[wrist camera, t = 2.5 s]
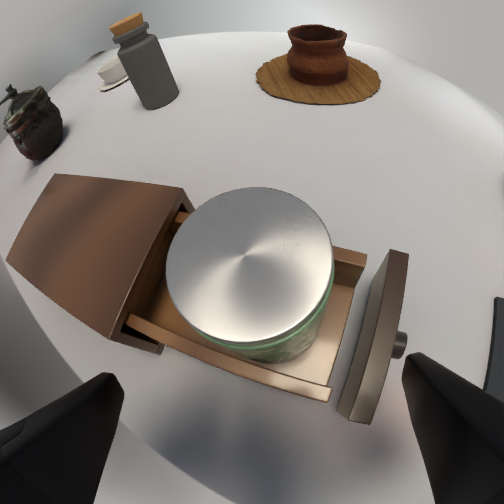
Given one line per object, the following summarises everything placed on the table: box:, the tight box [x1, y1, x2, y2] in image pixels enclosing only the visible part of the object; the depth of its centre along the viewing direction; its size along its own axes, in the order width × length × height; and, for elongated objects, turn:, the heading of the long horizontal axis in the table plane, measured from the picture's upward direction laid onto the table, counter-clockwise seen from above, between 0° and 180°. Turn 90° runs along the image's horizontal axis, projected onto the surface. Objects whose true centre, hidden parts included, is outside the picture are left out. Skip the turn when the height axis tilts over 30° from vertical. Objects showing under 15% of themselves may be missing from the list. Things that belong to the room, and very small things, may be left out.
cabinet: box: [6, 174, 195, 354], centre depth 21 cm, size 17×10×6 cm, turn 70°
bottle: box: [109, 12, 179, 110], centre depth 29 cm, size 6×6×15 cm
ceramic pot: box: [256, 25, 381, 104], centre depth 29 cm, size 18×18×7 cm
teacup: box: [97, 56, 129, 90], centre depth 44 cm, size 10×10×5 cm
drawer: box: [124, 211, 409, 425], centre depth 16 cm, size 18×9×5 cm, turn 70°
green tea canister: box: [166, 187, 334, 364], centre depth 13 cm, size 6×6×9 cm
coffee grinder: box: [0, 84, 63, 160], centre depth 31 cm, size 13×15×18 cm
